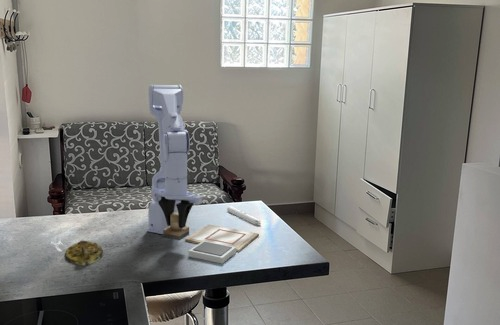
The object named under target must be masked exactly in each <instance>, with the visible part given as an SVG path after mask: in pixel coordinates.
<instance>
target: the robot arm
mask: <svg viewBox="0 0 500 325" xmlns="http://www.w3.org/2000/svg"><path fill="white" fill-rule="evenodd" d="M183 103H184V89H183V86H182V85H181V84H173V85H172V84H170V85H169V84H150V85H149V86H148V104H149V105H148V106H149V108H148V109H149V111H150V115H152V116H153V117H155V118H156V122H157V126H158V141H159V158H160V159H159V160H160V162H159V164H160V170H158V171H157V172H156V173H155V174H154V175H153V176H152V178H151V190H150V191H151V193H150V196H151V198H152V201H151V202H150V204H149V206H148V207H149V208H148V212H147V213H148V228H147V229H146V231H147V232H150V233H154V234H159V235H163V229H165V228H167V227H169V226H170V214H171V213H174V212H178V214H179V228H183V227H185V226H186V227H187V225H186V224H187V221H188V216H189V214H190V212H191V210H192V208H193V206H194V205H197V206H198V205H201V204H202V203H203V196H202V195H198V194H195V193H192V192H191V191H190V192H189V191H188V154H189V152H190V147H191V142H190V141H191V140H190V134H189V131H188V130H187V129H185V124H184V121H183V120H184V119H183V117H182V116H181V111H182V109H183Z"/></svg>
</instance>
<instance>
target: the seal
mask: <svg viewBox="0 0 500 325" xmlns="http://www.w3.org/2000/svg"><path fill="white" fill-rule="evenodd" d="M103 251H104V250H103V249H102V246H100V245H99V244H98V242H93V241H92V242H91V241H89V240H79V241H78V242H77V243H74V244H72V245H70V246H68V248H66V250H65V255H64V256H65V258H66V259H67V261H68V262H69V263H72V264H75V265H77V266H90V265H93V264H94V263H96V262H99V261H100V260H101V259H102V258H103V253H104V252H103Z"/></svg>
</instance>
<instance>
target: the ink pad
mask: <svg viewBox="0 0 500 325" xmlns="http://www.w3.org/2000/svg"><path fill="white" fill-rule="evenodd" d="M236 252H237V251H236V247H232V246H227V245H222V244H217V243H212V242H207V241H202V242H201V243H199V244H198V243H197V244H196V245H195V246H194V247H192V248H191V249H189V250H188V257H189V258H194V259H200V260H204V261H209V262H213V263H218V264H224V263H225V262H226V261H228V259H230V258H231V257H232V256H234V255H235V254H236Z"/></svg>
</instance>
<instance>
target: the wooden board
mask: <svg viewBox="0 0 500 325" xmlns="http://www.w3.org/2000/svg"><path fill="white" fill-rule="evenodd" d="M259 236H260V234H259V233H257V232H252V231H247V230H241V229H240V230H239V229H236V228H230V227H226V226H219V225H213V224H207V225H205V226H204V227H202V228H200V229H199V230H197V231H195V232H194V233H193V234H191V235H188V236H187V237H185V238H184V242H189V243H193V244H197V245H198V244H199V243H201V242H202V241H207V242H212V243H217V244H222V245H227V246H232V247H236V252H241V251H242V250H243V249H244V248H246V247H247V246H248V245H250V243H252V242H253V241H254V240H256V239H257V237H259Z"/></svg>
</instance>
